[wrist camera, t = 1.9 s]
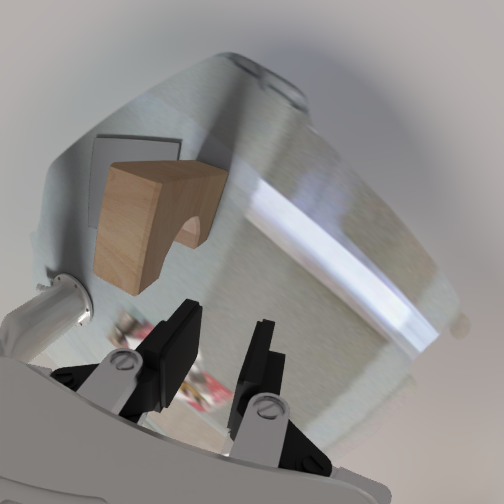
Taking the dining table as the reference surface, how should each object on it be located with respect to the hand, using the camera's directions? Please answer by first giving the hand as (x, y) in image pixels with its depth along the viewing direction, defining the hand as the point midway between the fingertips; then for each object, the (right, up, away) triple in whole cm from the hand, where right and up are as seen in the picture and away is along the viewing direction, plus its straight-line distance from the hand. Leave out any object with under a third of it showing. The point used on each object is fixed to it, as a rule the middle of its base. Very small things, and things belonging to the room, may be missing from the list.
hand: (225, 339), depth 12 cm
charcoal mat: (-19, +14, +30) cm, 38 cm away
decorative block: (-6, +11, +29) cm, 32 cm away
